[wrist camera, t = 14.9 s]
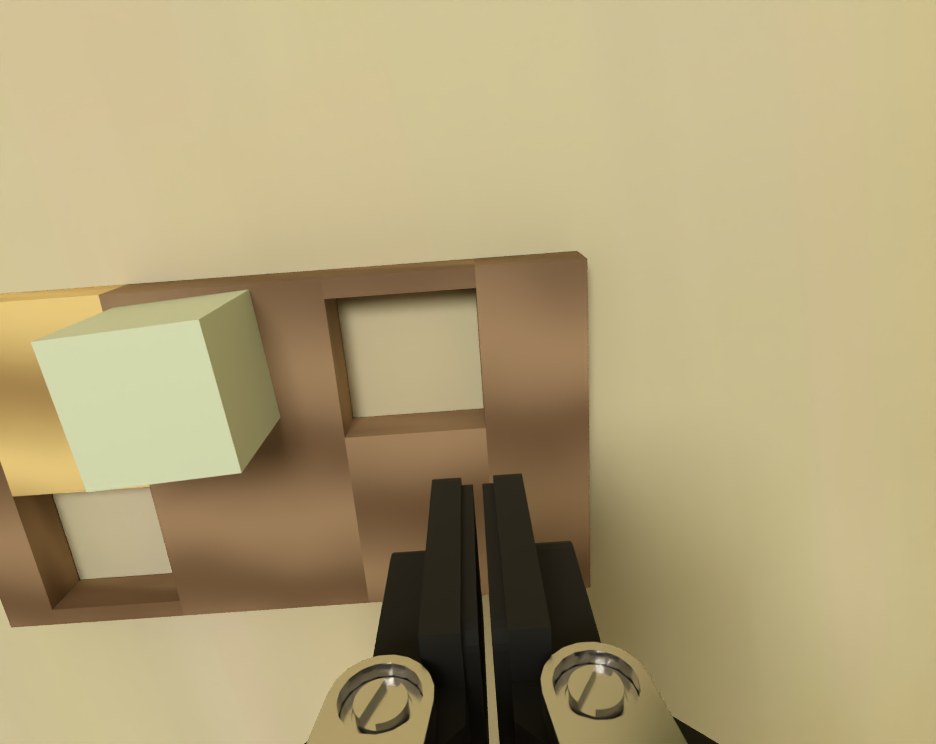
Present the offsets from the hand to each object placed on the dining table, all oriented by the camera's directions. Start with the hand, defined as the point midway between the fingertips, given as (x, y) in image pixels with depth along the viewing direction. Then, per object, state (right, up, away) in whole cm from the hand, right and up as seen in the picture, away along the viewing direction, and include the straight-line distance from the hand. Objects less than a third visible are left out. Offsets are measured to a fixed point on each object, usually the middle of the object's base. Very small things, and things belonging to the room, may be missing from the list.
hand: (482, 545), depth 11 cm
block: (-10, +4, +11) cm, 16 cm away
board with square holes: (-8, 0, +15) cm, 17 cm away
